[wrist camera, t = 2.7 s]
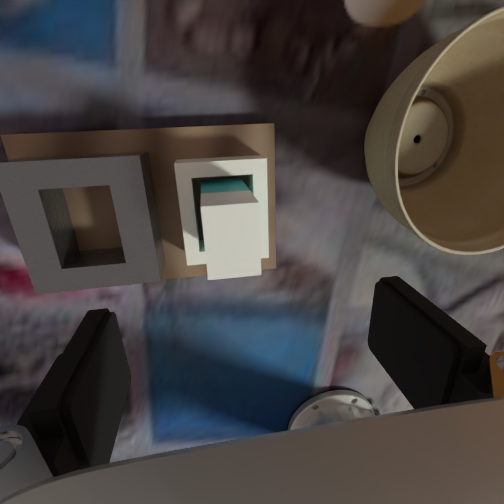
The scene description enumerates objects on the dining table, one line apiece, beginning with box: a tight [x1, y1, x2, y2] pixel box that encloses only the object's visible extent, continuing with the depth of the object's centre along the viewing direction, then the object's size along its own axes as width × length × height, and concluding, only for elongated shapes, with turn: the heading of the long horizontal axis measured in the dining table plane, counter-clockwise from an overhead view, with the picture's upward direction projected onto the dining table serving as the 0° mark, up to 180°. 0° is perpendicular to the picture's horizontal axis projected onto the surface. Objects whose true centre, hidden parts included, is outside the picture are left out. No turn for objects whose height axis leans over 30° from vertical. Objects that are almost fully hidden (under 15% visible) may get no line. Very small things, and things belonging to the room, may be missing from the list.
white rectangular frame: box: [174, 155, 269, 266], centre depth 28 cm, size 7×9×3 cm
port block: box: [0, 151, 166, 294], centre depth 26 cm, size 10×10×4 cm
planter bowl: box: [364, 7, 504, 255], centre depth 26 cm, size 16×16×11 cm
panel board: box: [0, 123, 276, 280], centre depth 29 cm, size 22×14×2 cm, turn 92°
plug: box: [200, 178, 261, 280], centre depth 24 cm, size 4×5×10 cm
